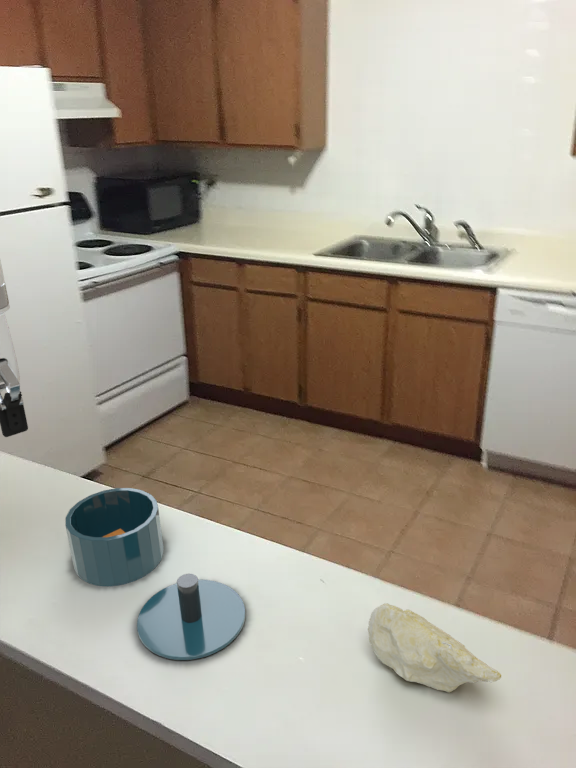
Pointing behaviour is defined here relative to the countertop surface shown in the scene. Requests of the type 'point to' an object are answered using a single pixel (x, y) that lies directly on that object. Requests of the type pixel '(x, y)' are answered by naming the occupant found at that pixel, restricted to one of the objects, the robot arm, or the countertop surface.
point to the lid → (191, 619)
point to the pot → (116, 553)
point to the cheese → (423, 651)
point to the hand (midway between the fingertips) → (2, 421)
